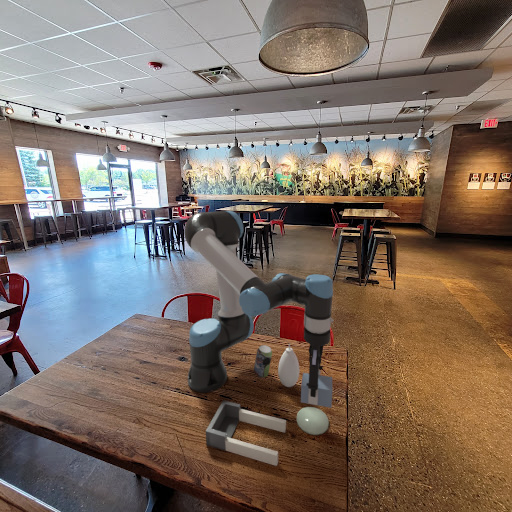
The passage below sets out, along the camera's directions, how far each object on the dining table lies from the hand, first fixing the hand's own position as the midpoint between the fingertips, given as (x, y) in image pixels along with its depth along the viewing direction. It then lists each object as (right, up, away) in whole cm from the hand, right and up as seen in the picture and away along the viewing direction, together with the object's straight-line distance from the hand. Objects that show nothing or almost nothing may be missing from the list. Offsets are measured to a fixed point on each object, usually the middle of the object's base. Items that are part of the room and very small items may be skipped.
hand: (314, 395), depth 83 cm
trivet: (0, -10, +2) cm, 10 cm away
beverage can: (-15, -5, +25) cm, 29 cm away
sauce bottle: (-6, -6, +19) cm, 20 cm away
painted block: (+1, -1, 0) cm, 1 cm away
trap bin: (-28, -11, -1) cm, 30 cm away
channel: (-18, -11, -4) cm, 21 cm away
